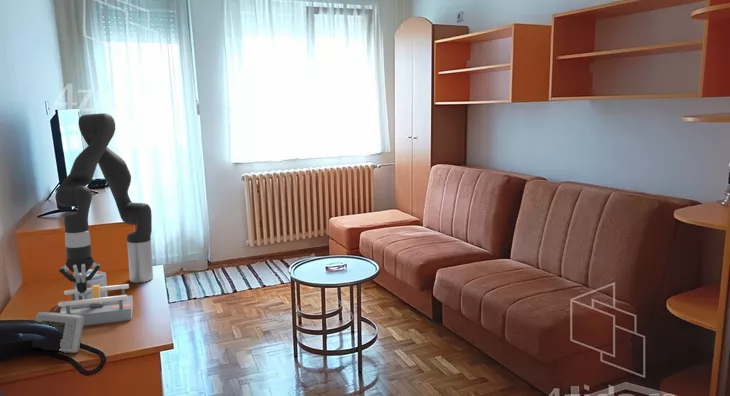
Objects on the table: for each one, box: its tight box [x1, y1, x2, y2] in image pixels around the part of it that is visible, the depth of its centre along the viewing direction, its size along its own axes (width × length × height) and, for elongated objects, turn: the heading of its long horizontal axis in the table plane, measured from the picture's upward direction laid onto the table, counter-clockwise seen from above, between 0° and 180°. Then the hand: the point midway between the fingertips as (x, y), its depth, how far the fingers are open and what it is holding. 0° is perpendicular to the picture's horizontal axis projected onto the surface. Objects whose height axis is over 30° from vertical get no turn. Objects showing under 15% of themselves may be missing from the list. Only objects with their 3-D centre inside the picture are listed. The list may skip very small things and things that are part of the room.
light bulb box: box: [72, 268, 109, 300], centre depth 197 cm, size 11×7×11 cm, turn 62°
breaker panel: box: [57, 283, 134, 327], centre depth 181 cm, size 14×22×9 cm, turn 111°
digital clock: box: [35, 311, 84, 354], centre depth 157 cm, size 16×9×11 cm, turn 67°
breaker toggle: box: [90, 284, 104, 308], centre depth 181 cm, size 4×4×7 cm
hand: (82, 292), depth 179 cm, fingers closed
